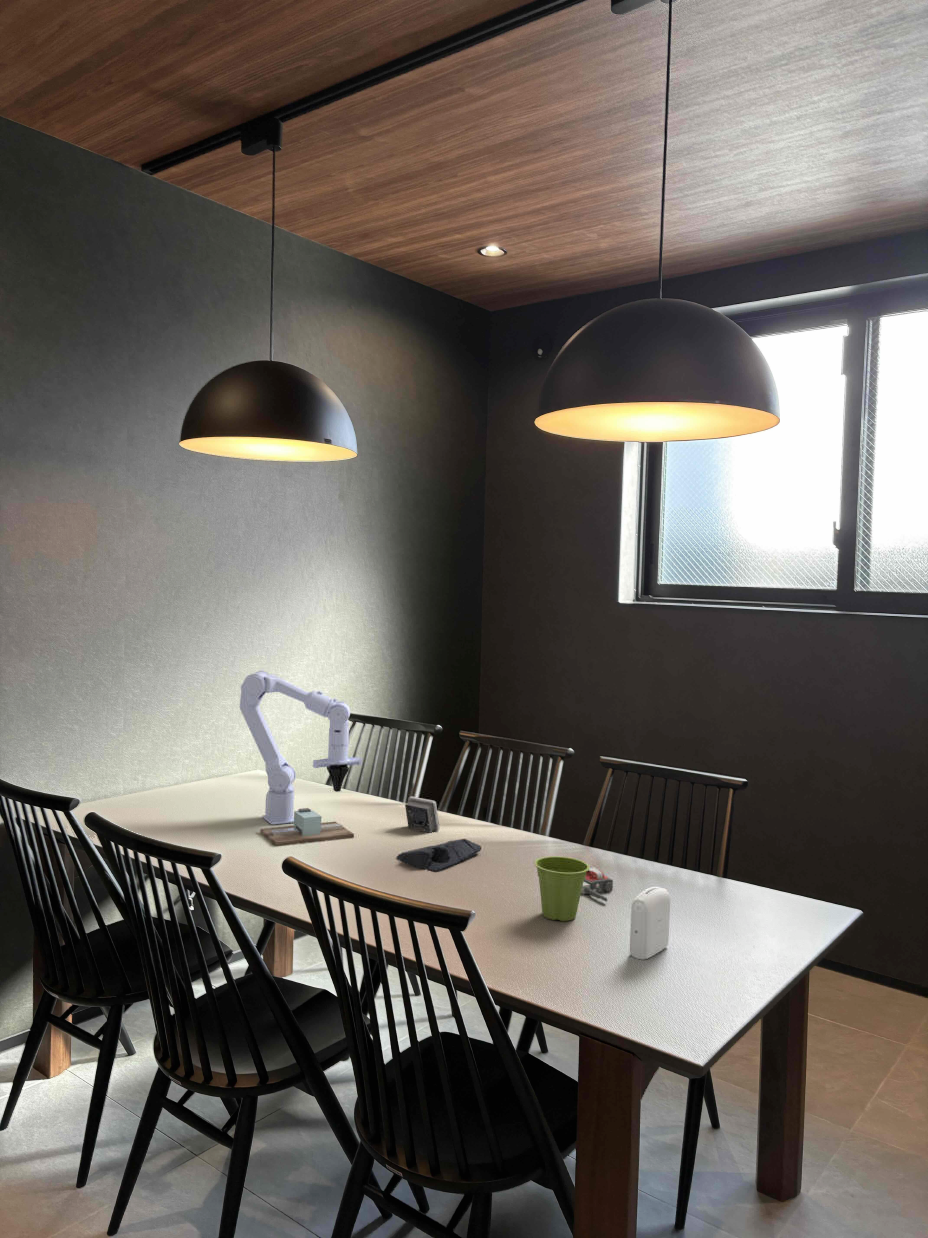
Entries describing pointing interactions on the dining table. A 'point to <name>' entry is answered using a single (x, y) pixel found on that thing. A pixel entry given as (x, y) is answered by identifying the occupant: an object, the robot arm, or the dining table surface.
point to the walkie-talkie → (596, 883)
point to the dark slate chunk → (440, 855)
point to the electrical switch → (422, 814)
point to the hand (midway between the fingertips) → (336, 790)
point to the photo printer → (649, 923)
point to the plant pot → (560, 885)
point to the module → (307, 822)
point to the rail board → (294, 836)
